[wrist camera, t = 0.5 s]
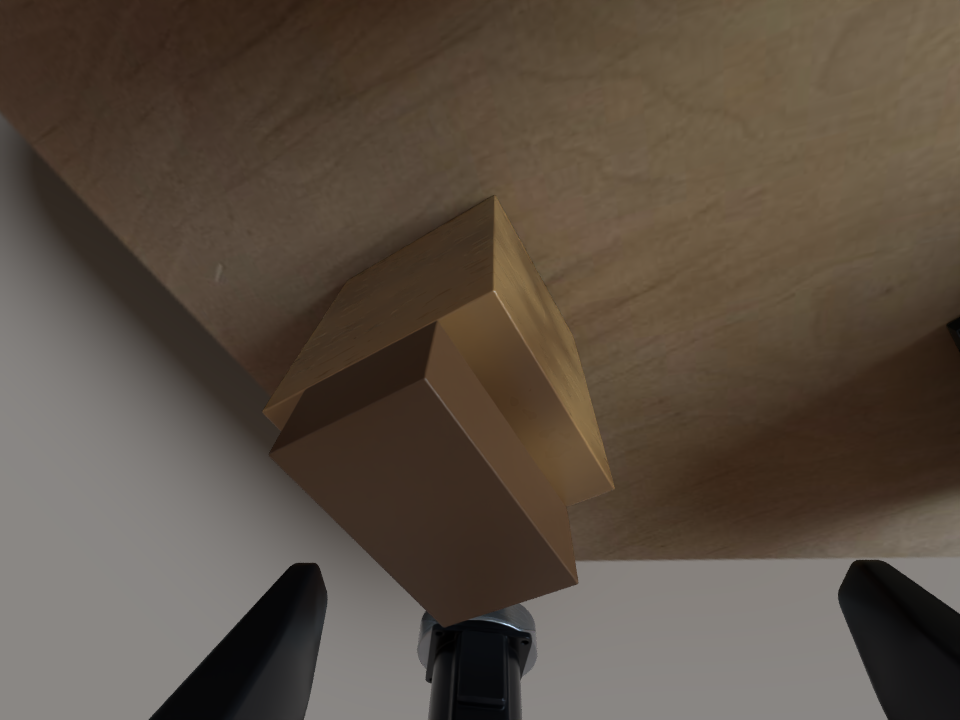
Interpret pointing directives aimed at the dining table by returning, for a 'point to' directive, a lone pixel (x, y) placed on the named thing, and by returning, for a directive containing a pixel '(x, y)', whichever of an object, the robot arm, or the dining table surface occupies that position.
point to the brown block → (430, 479)
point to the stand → (471, 340)
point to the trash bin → (955, 331)
